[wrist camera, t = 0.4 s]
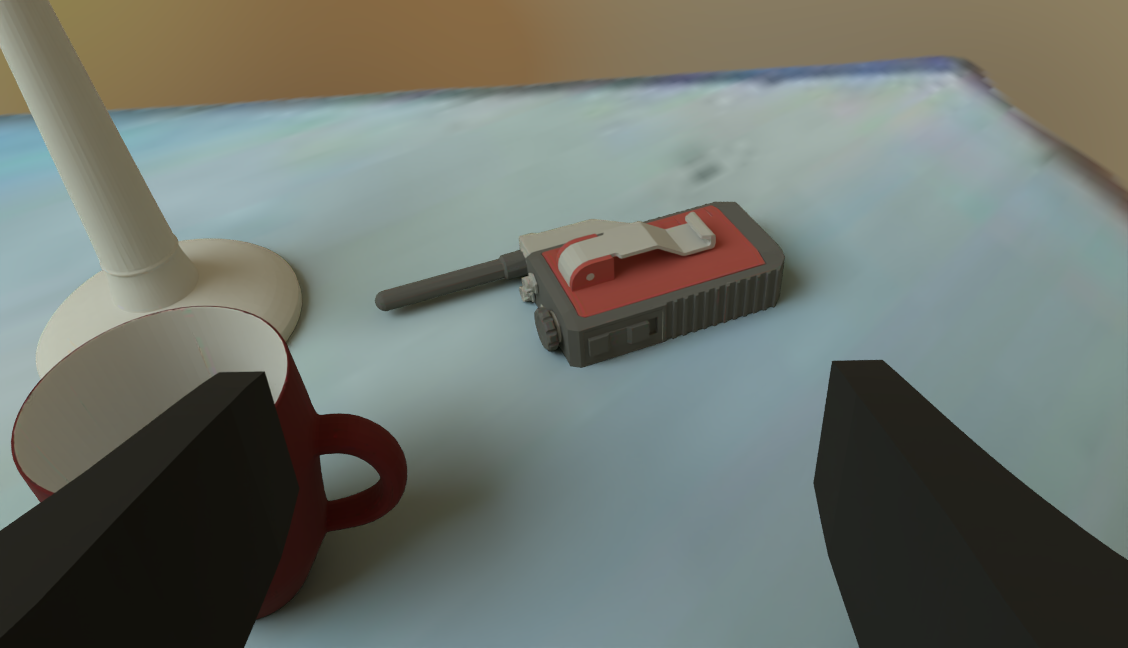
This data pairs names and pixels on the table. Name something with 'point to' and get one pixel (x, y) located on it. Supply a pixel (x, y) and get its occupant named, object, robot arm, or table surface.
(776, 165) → the table surface
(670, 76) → the table surface
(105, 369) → the mug
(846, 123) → the table surface
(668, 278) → the walkie-talkie
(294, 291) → the candlestick
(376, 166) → the table surface
